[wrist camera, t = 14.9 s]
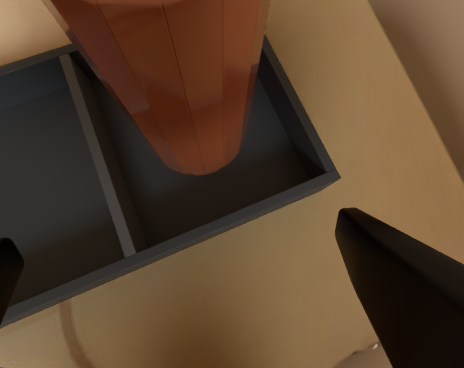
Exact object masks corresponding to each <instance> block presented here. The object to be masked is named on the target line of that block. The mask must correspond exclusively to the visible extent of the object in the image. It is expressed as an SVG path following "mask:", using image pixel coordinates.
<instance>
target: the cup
mask: <svg viewBox="0 0 464 368" xmlns="http://www.w3.org/2000/svg"><path fill="white" fill-rule="evenodd" d="M41 1H42V2H43V4H44V5H45V6H46V8H47V9H48V10H49V12H50V13H51V14H52V16H53V17H54V18H55V20H56V21H57V23H58V24H59V25H60V27H61V28H62V29H63V31H64V32H65V33H66V35H67V36H68V37H69V39H70V40H71V42H72V43H73V44H74V46H75V47H76V48H77V50H78V51H79V52H80V54H81V55H82V56H83V58H84V59H85V61H86V62H87V63H88V65H89V66H90V67H91V69H92V70H93V71H94V73H95V74H96V75H97V77H98V78H99V80H100V81H101V82H102V84H103V85H104V86H105V88H106V89H107V90H108V92H109V93H110V94H111V96H112V97H113V99H114V100H115V101H116V103H117V104H118V105H119V107H120V108H121V109H122V111H123V112H124V113H125V115H126V116H127V118H128V119H129V120H130V122H131V123H132V124H133V126H134V127H135V128H136V130H137V131H138V132H139V134H140V135H141V137H142V138H143V139H144V141H145V142H146V143H147V145H148V146H149V147H150V149H151V150H152V152H153V153H154V154H155V155H156V156H157V157H158V158H159V159H160V160H161V162H163V163H164V164H165V165H166V166H167V167H169V168H170V169H172V170H174V171H176V172H179V173H182V174H186V175H194V176H199V175H207V174H211V173H214V172H216V171H219V170H221V169H222V168H224V167H226V166H227V165H228V164H229V163H231V162H232V161H233V160H234V158H235V157H236V156H237V155H238V153H239V151H240V150H241V148H242V145H243V142H244V139H245V136H246V132H247V126H248V121H249V115H250V110H251V104H252V99H253V93H254V88H255V82H256V77H257V71H258V66H259V61H260V55H261V50H262V44H263V39H264V33H265V28H266V22H267V17H268V11H269V6H270V0H41Z"/></svg>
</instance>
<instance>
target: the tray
mask: <svg viewBox="0 0 464 368" xmlns="http://www.w3.org/2000/svg"><path fill="white" fill-rule="evenodd" d="M340 178H341V177H340V175H339V173H338V172H337V170H336V169H335V166H334V164H333V162H332V160H331V158H330V157H329V155H328V153H327V151H326V149H325V147H324V145H323V143H322V141H321V140H320V138H319V136H318V134H317V132H316V130H315V128H314V126H313V124H312V123H311V121H310V119H309V117H308V115H307V113H306V111H305V109H304V107H303V106H302V104H301V102H300V100H299V98H298V96H297V94H296V92H295V90H294V88H293V87H292V85H291V83H290V81H289V79H288V77H287V75H286V73H285V71H284V70H283V68H282V66H281V64H280V62H279V60H278V58H277V56H276V54H275V53H274V51H273V49H272V47H271V45H270V43H269V41H268V39H267V37H266V36H265V34H264V39H263V44H262V50H261V55H260V61H259V66H258V71H257V77H256V82H255V88H254V93H253V99H252V104H251V110H250V115H249V121H248V126H247V132H246V136H245V139H244V142H243V145H242V148H241V150H240V151H239V153H238V155H237V156H236V157H235V158H234V160H233V161H232V162H231V163H229V164H228V165H227V166H226V167H224V168H222V169H221V170H219V171H216V172H214V173H211V174H207V175H199V176H194V175H186V174H182V173H179V172H176V171H174V170H172V169H170V168H169V167H167V166H166V165H165V164H164V163H163V162H161V160H160V159H159V158H158V157H157V156H156V155H155V154H154V153H153V152H152V150H151V149H150V147H149V146H148V145H147V143H146V142H145V141H144V139H143V138H142V137H141V135H140V134H139V132H138V131H137V130H136V128H135V127H134V126H133V124H132V123H131V122H130V120H129V119H128V118H127V116H126V115H125V113H124V112H123V111H122V109H121V108H120V107H119V105H118V104H117V103H116V101H115V100H114V99H113V97H112V96H111V94H110V93H109V92H108V90H107V89H106V88H105V86H104V85H103V84H102V82H101V81H100V80H99V78H98V77H97V75H96V74H95V73H94V71H93V70H92V69H91V67H90V66H89V65H88V63H87V62H86V61H85V59H84V58H83V56H82V55H81V54H80V52H79V51H78V50H77V48H76V47H75V46H74V44H73V43H72V44H69V45H66V46H63V47H60V48H57V49H53V50H50V51H47V52H44V53H41V54H38V55H35V56H32V57H29V58H26V59H23V60H20V61H16V62H13V63H10V64H7V65H4V66H1V67H0V238H3V237H7V238H10V239H11V240H12V241H13V242H14V244H15V245H16V247H17V249H18V250H19V252H20V253H21V255H22V257H23V259H24V268H23V271H22V274H21V276H20V279H19V281H18V284H17V286H16V289H15V291H14V294H13V296H12V299H11V301H10V304H9V307H8V309H7V312H6V314H5V316H4V319H3V321H2V323H1V325H0V328H2V327H4V326H7V325H9V324H11V323H14V322H16V321H18V320H21V319H23V318H25V317H28V316H30V315H32V314H35V313H37V312H39V311H42V310H44V309H46V308H49V307H51V306H53V305H56V304H58V303H60V302H63V301H65V300H67V299H70V298H72V297H74V296H77V295H79V294H81V293H83V292H86V291H88V290H90V289H93V288H95V287H97V286H100V285H102V284H104V283H107V282H109V281H111V280H114V279H116V278H118V277H121V276H123V275H125V274H128V273H130V272H132V271H135V270H137V269H139V268H142V267H144V266H146V265H149V264H151V263H153V262H156V261H158V260H160V259H163V258H165V257H167V256H170V255H172V254H174V253H177V252H179V251H181V250H184V249H186V248H188V247H191V246H193V245H195V244H198V243H200V242H202V241H205V240H207V239H209V238H212V237H214V236H216V235H219V234H221V233H223V232H226V231H228V230H230V229H233V228H235V227H237V226H240V225H242V224H244V223H247V222H249V221H251V220H254V219H256V218H258V217H261V216H263V215H265V214H268V213H270V212H272V211H275V210H277V209H279V208H282V207H284V206H286V205H289V204H291V203H293V202H296V201H298V200H300V199H303V198H305V197H307V196H309V195H312V194H314V193H316V192H319V191H321V190H323V189H324V188H326V187H327V186H329V185H331V184H332V183H334V182H335V181H337V180H339V179H340Z"/></svg>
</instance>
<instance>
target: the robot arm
mask: <svg viewBox="0 0 464 368" xmlns="http://www.w3.org/2000/svg"><path fill="white" fill-rule="evenodd" d="M335 237H336V241H337V243H338V246H339V249H340V252H341V255H342V257H343V260H344V263H345V266H346V268H347V271H348V274H349V277H350V279H351V282H352V285H353V287H354V289H355V291H356V294H357V296H358V298H359V300H360V302H361V304H362V306H363V308H364V310H365V312H366V314H367V316H368V318H369V320H370V322H371V324H372V326H373V328H374V330H375V332H376V334H377V337H378V339H379V341H380V343H381V345H382V347H383V349H384V351H385V353H386V355H387V357H388V359H389V361H390V363H391V365H392V367H393V368H464V264H462V263H460V262H458V261H456V260H454V259H452V258H450V257H448V256H447V255H445V254H443V253H441V252H439V251H437V250H435V249H433V248H431V247H430V246H428V245H426V244H424V243H422V242H420V241H418V240H416V239H414V238H412V237H411V236H409V235H407V234H405V233H403V232H401V231H399V230H397V229H395V228H393V227H392V226H390V225H388V224H386V223H384V222H382V221H380V220H378V219H376V218H374V217H373V216H371V215H369V214H367V213H365V212H363V211H361V210H359V209H357V208H343V209H341V210H340V211H339V213H338V218H337V224H336V229H335ZM23 268H24V259H23V257H22V255H21V253H20V252H19V250H18V249H17V247H16V245H15V244H14V242H13V241H12V240H11V239H10V238H7V237H3V238H0V325H1V323H2V321H3V319H4V316H5V314H6V312H7V309H8V307H9V304H10V301H11V299H12V296H13V294H14V291H15V289H16V286H17V284H18V281H19V279H20V276H21V274H22V271H23Z"/></svg>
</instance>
